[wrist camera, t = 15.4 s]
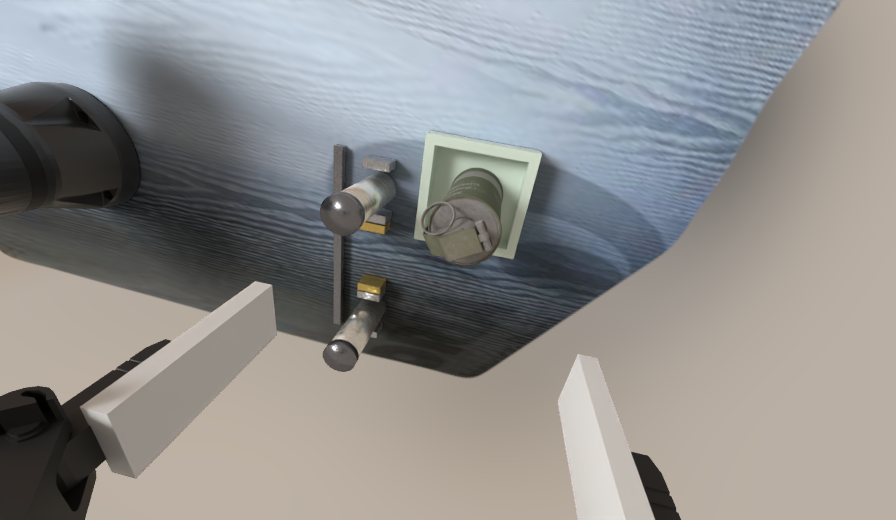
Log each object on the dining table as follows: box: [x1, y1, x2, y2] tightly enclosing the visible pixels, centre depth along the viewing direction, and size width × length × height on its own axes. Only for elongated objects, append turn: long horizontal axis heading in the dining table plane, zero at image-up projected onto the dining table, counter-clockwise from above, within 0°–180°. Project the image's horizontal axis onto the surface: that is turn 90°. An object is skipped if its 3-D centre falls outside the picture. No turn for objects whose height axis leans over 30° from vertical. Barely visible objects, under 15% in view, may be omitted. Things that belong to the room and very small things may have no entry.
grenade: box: [421, 168, 503, 265], centre depth 31 cm, size 6×6×15 cm
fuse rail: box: [320, 144, 396, 372], centre depth 38 cm, size 7×25×11 cm, turn 171°
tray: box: [414, 131, 542, 259], centre depth 37 cm, size 12×12×3 cm
